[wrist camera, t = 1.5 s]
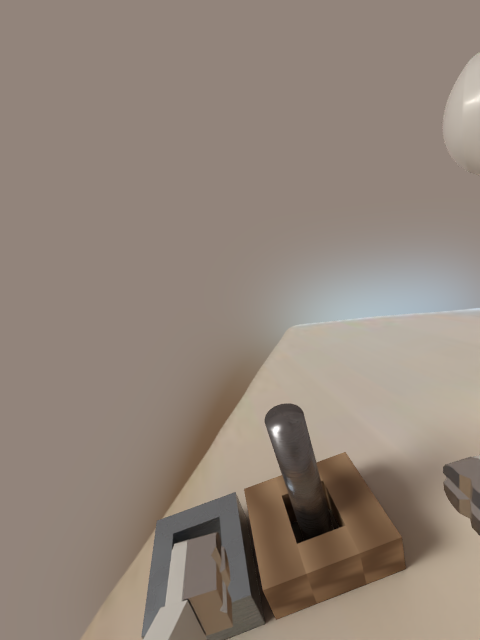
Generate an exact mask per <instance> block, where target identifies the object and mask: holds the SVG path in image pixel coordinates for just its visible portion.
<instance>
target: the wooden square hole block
mask: <svg viewBox="0 0 480 640" xmlns="http://www.w3.org/2000/svg"><path fill="white" fill-rule="evenodd" d="M316 464H317V467H318V471H319V475H320V479H321V483H322V487H323V490H324V494H325V498H326V502H327V506H328V509H331V511H332V513H333V515H334V517H335V520H336V522H337V524H338V526H339V528H338V529H335V530H333V531H330V532H327V533H325V534H322V535H319V536H317V537H314V538H311V539H309V540H306V541H303V542H301V543H298V544H297V541H296V537H295V534H294V531H293V528H292V525H291V523H293V522H296V521H297V519H296V516H295V512H294V509H293V506H292V503H291V500H290V497H289V494H288V491H287V488H286V485H285V482H284V479H283V476H282V475H281V476H278V477H276V478H273V479H270V480H267V481H265V482H262V483H259V484H256V485H254V486H251V487H248V488H246V489H244V491H245V497H246V502H247V508H248V513H249V519H250V524H251V529H252V535H253V540H254V546H255V551H256V557H257V562H258V567H259V573H260V578H261V584H262V589H263V592H264V594H265V596H266V599H267V601H268V603H269V605H270V607H271V609H272V612H273V614H274V616H275V618H276V619H279V618H281V617H284V616H286V615H289V614H292V613H294V612H297V611H299V610H302V609H304V608H307V607H310V606H312V605H315V604H317V603H320V602H322V601H325V600H328V599H330V598H333V597H335V596H338V595H340V594H343V593H345V592H348V591H351V590H353V589H356V588H358V587H361V586H363V585H366V584H369V583H371V582H374V581H376V580H379V579H381V578H384V577H386V576H389V575H392V574H394V573H397V572H399V571H402V570H404V569H406V567H405V559H404V551H403V543H402V537H401V535H400V534H399V532H398V531H397V529H396V528H395V526H394V525H393V523H392V522H391V520H390V519H389V517H388V516H387V514H386V513H385V511H384V510H383V508H382V507H381V505H380V504H379V502H378V501H377V499H376V498H375V496H374V495H373V493H372V492H371V490H370V488H369V487H368V485H367V484H366V482H365V481H364V479H363V478H362V476H361V475H360V473H359V472H358V470H357V469H356V467H355V466H354V464H353V463H352V461H351V460H350V458H349V457H348V455H347V454H346V452H344V453H341V454H339V455H336V456H333V457H330V458H328V459H325V460H322V461H320V462H317V463H316Z"/></svg>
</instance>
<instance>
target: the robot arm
mask: <svg viewBox="0 0 480 640" xmlns="http://www.w3.org/2000/svg"><path fill="white" fill-rule="evenodd" d="M443 137H444V142H445V146H446V148H447V150H448V152H449V154H450V156H451V157H452V159H453V160H454V161H455V162H456V163H457V164H458V165H459V166H460V167H462V168H463V169H464V170H466V171H468V172H470V173H473V174H475V175H478V176H480V52H479V53H478V54H477V55H475V56H474V57H472V58H471V59H470V61H469V62H468V63H467V65H466V66H465V68H464V69H463V71H462V72H461V74H460V75H459V77H458V79H457V80H456V83H455V85H454V86H453V88H452V91H451V94H450V96H449V98H448V101H447V104H446V108H445V112H444V117H443ZM443 473H444V474H445V475H446V476H447V478H446V480H445V481H444V491H445V493H446V495H447V497H448V499H449V501H450V502H451V504H452V505H453V506H454V508H455V509H456V510H457V511H458V512H459V513H460V514H462V515H464V516H466V517H468V518H470V521H471V525H472V528H473V529H474V530H475V531H476V532H477V533H478V534H479V535H480V455H477V456H473V457H468V458H465V459H462V460H459V461H456V462H452V463H449V464H446V465H445V466H444V467H443ZM229 584H230V569H229V563H228V557H227V553H226V550H225V548H224V547H223V546H221V538H220V535H219V533H218V532H216V533H212V534H208V535H205V536H201V537H197V538H194V539H190V540H186V541H183V542H179V543H176V544H174V546H173V549H172V555H171V563H170V571H169V579H168V587H167V594H166V602H165V606H164V607H161V608H160V609H159V611H158V613H157V615H156V617H155V619H154V621H153V622H152V624H151V626H150V628H149V630H148V632H147V633H146V635H145V637H144V639H143V640H206V636H207V635H210V634H213V633H216V632H219V631H222V630H225V629H228V628H231V627H233V620H232V601H231V597H230V594H229V592H228V589H227V588H228V586H229Z"/></svg>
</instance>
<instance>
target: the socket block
mask: <svg viewBox="0 0 480 640" xmlns="http://www.w3.org/2000/svg"><path fill="white" fill-rule="evenodd" d="M216 532H218V533H219V535H220V538H221V546H223V547H224V548H225V550H226V553H227V557H228V563H229V569H230V584H229V586H228V588H227V589H228V592H229V594H230V597H231V601H232V620H233V627H231V628H228V629H225V630H222V631H219V632H216V633H213V634H210V635H207V636H206V640H225V639H227V638H230V637H233V636H235V635H238V634H240V633H243V632H245V631H248V630H251V629H253V628H256V627H258V626H261V625H263V624H265V620H264V615H263V609H262V603H261V597H260V592H259V586H258V580H257V575H256V569H255V563H254V557H253V552H252V546H251V540H250V534H249V529H248V523H247V518H246V516H245V513H244V511H243V509H242V506H241V504H240V502H239V499H238V497H237V495H236V492H235V493H232V494H229V495H226V496H224V497H221V498H218V499H215V500H213V501H210V502H207V503H204V504H202V505H199V506H196V507H193V508H191V509H188V510H185V511H183V512H180V513H177V514H174V515H172V516H169V517H166V518H163V519H161V520H158V521H157V524H156V531H155V539H154V546H153V554H152V561H151V569H150V576H149V584H148V592H147V599H146V607H145V614H144V622H143V629H142V638H143V639H144V637H145V635H146V633H147V632H148V630H149V628H150V626H151V624H152V622H153V621H154V619H155V617H156V615H157V613H158V611H159V609H160V608H161V607H164V606H165V602H166V594H167V587H168V579H169V571H170V563H171V555H172V549H173V546H174V544H176V543H179V542H183V541H186V540H190V539H194V538H197V537H201V536H205V535H208V534H212V533H216Z"/></svg>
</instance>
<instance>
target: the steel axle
mask: <svg viewBox="0 0 480 640" xmlns="http://www.w3.org/2000/svg"><path fill="white" fill-rule="evenodd" d="M265 424H266V427H267V430H268V434H269V437H270V440H271V443H272V446H273V449H274V452H275V455H276V458H277V461H278V464H279V467H280V470H281V473H282V476H283V479H284V482H285V485H286V488H287V491H288V494H289V497H290V500H291V503H292V506H293V509H294V512H295V516H296V519H297V522H298V525H299V528H300V531H301V534H302V537H303V540H304V541H306V540H309V539H311V538H314V537H317V536H319V535H322V534H325V533H327V532H330V531H333V530H334V529H333V525H332V521H331V517H330V513H329V510H328V506H327V502H326V498H325V494H324V490H323V487H322V483H321V479H320V475H319V471H318V467H317V464H316V460H315V456H314V452H313V448H312V444H311V441H310V437H309V433H308V429H307V425H306V421H305V418H304V414H303V411H302V409H301V408H300V407H298V406H297V405H294V404H280V405H277V406H275V407H273V408H272V409H271V410H269V411H268V413H267V414H266V416H265Z"/></svg>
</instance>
